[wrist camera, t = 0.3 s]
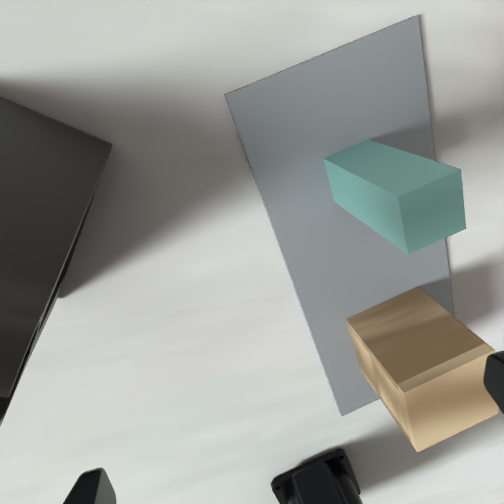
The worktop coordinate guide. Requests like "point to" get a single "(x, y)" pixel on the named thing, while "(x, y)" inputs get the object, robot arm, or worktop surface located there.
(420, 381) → the wooden block
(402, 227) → the post
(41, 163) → the phone stand
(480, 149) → the worktop surface
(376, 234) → the board
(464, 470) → the worktop surface
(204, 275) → the worktop surface
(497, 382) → the robot arm
